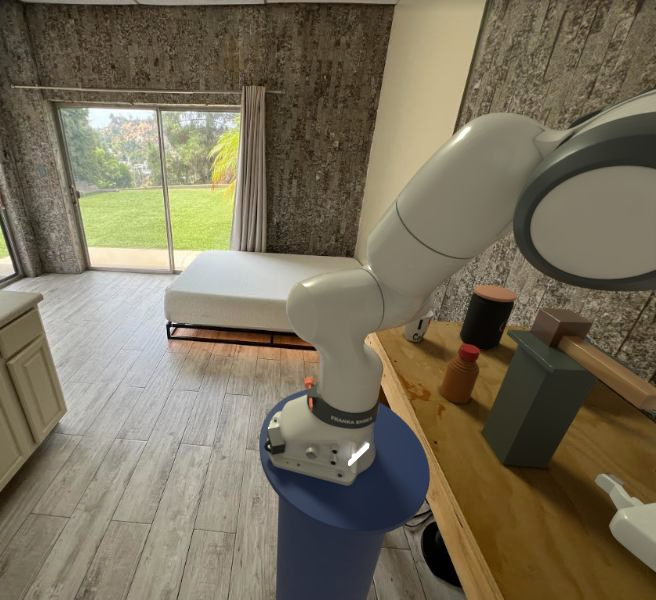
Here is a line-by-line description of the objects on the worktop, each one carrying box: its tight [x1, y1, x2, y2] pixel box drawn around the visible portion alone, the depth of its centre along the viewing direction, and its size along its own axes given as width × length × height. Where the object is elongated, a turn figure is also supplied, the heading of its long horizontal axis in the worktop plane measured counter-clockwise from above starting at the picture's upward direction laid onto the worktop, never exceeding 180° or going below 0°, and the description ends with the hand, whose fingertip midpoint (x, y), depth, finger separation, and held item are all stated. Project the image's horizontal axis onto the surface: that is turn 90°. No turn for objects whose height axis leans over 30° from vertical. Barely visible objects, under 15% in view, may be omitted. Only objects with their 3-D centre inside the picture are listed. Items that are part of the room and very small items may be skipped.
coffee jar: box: [459, 284, 518, 351], centre depth 99 cm, size 11×11×18 cm
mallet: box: [529, 307, 656, 411], centre depth 49 cm, size 5×20×5 cm, turn 174°
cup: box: [402, 309, 434, 343], centre depth 103 cm, size 8×8×10 cm
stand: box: [481, 329, 640, 469], centre depth 60 cm, size 12×12×26 cm
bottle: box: [439, 355, 480, 405], centre depth 78 cm, size 6×6×14 cm
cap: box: [457, 343, 481, 362], centre depth 75 cm, size 4×4×2 cm
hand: (631, 471), depth 42 cm, fingers open, 8 cm apart
